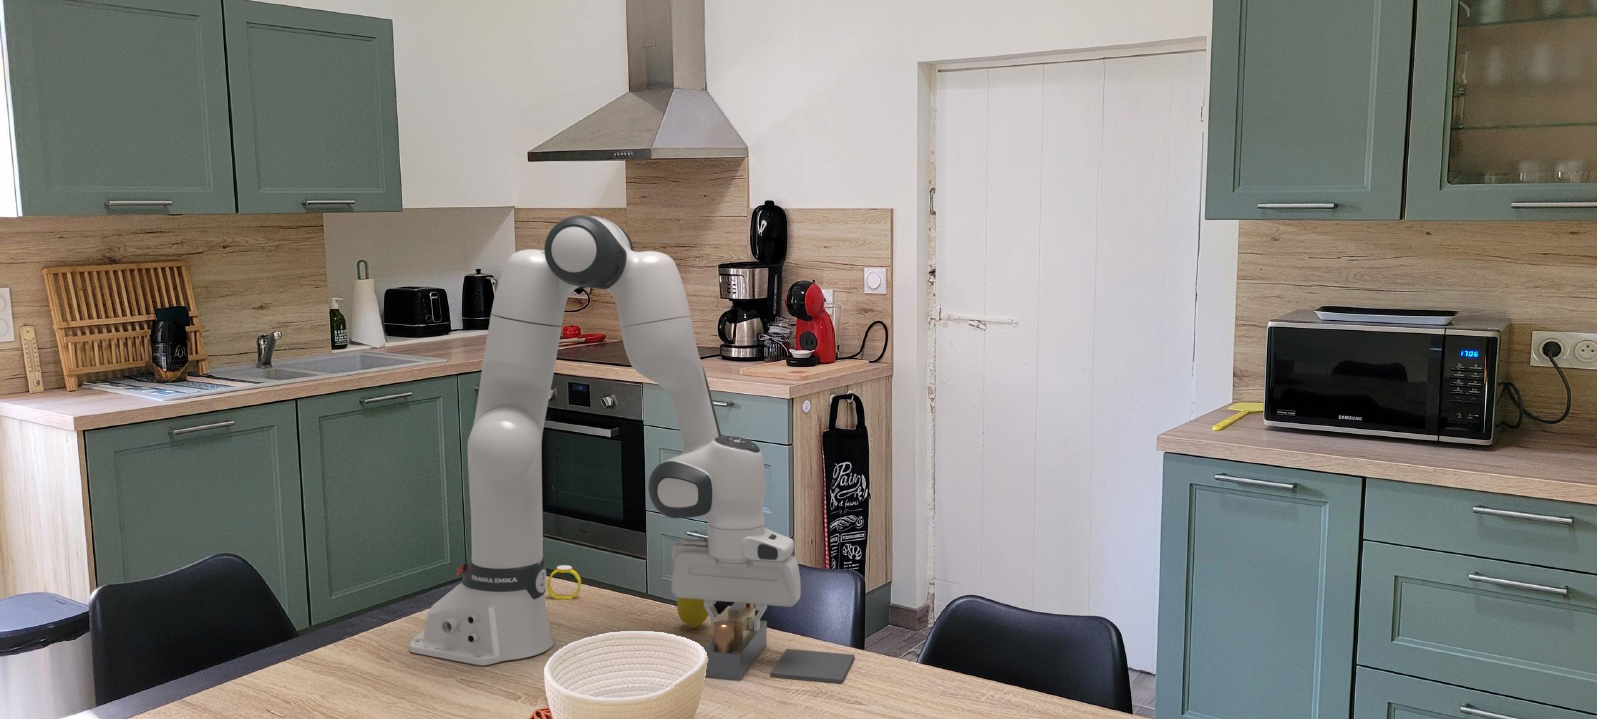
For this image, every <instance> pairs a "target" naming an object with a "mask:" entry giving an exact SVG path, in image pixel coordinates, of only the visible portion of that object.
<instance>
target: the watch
mask: <svg viewBox="0 0 1597 719" xmlns="http://www.w3.org/2000/svg"><path fill="white" fill-rule="evenodd" d="M557 573H561V574H565V573H570V574H571V575H573V576H574V577H575V579H576V580H577V589H576V592H574V593H573V594H572V595H558V594H557V593H556V592H554V591H553V589H552V586H551V580H552V577H553V576H554V575H555V574H557ZM581 587H582V578H581V576H580V574H578V572H577V571H576V570H574V569H573V566H571V565H568V564H567V565H566V564H565V565H564V564H562V565H557V567H556V569H555V570H553V571H552V572H551V573H550V575H549V577H548V579H547V580H546V588H547V592H548V594H549V595H550V596H551V597H552V598H553V599H555V600H573V599H574V598H576V596H577V595H578V594H579V592H580V590H581Z"/></svg>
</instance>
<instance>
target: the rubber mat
mask: <svg viewBox="0 0 1597 719" xmlns="http://www.w3.org/2000/svg"><path fill="white" fill-rule="evenodd" d="M855 656H856V655H855V654H850V653H838V652H829V651H827V652H826V651H819V650H818V651H816V650H806V649H794V648H786V649H785V651H784V652H783V654H782V655H781V656H780V658H779V660H778V661H777V663H776V664H775V665H774V667H773V669H772V670H771V671H770V673H769V675H770V676H769V677H770V678H776V679H777V678H779V679H789V680H797V681H809V682H819V683H829V684H830V683H831V684H839V685H842V684H843V683H844V681H845V679H846V676H847V674H849V671H850V669H851V666H852V665H853V663H854V661H855V659H856V658H855Z"/></svg>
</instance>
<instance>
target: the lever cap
mask: <svg viewBox="0 0 1597 719" xmlns="http://www.w3.org/2000/svg"><path fill="white" fill-rule="evenodd" d="M751 617H756V610H755V607H754V608H749V607H746V603H738V602H733V604H732V605H727V607H726V608H724V610H723V611H722V612H721V613H720V615H719V616H718V617H717V618H716V621H721V620H727V621H732V622H733V623H734V643H737V644H744V642H745V641H746V640H747V639H748V637H749V636H750V635H751V634H752V632H753V631H748V627H749V625H748V620H749V619H750V618H751Z"/></svg>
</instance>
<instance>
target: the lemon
mask: <svg viewBox="0 0 1597 719" xmlns="http://www.w3.org/2000/svg"><path fill="white" fill-rule="evenodd" d="M676 605H677V607H676V608H677V614H678V617H679V619H680V620H681V621H682V623H684V624H686V625H688V626H690V628H692V629H696V628H697V627H698V626H699V625H701V624H702V623H704V622H705V621H706V620H707V618H709V614H708V612H707V611H706V609H705V607H704V600H702V599H689V598H678V597H677V604H676Z"/></svg>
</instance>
